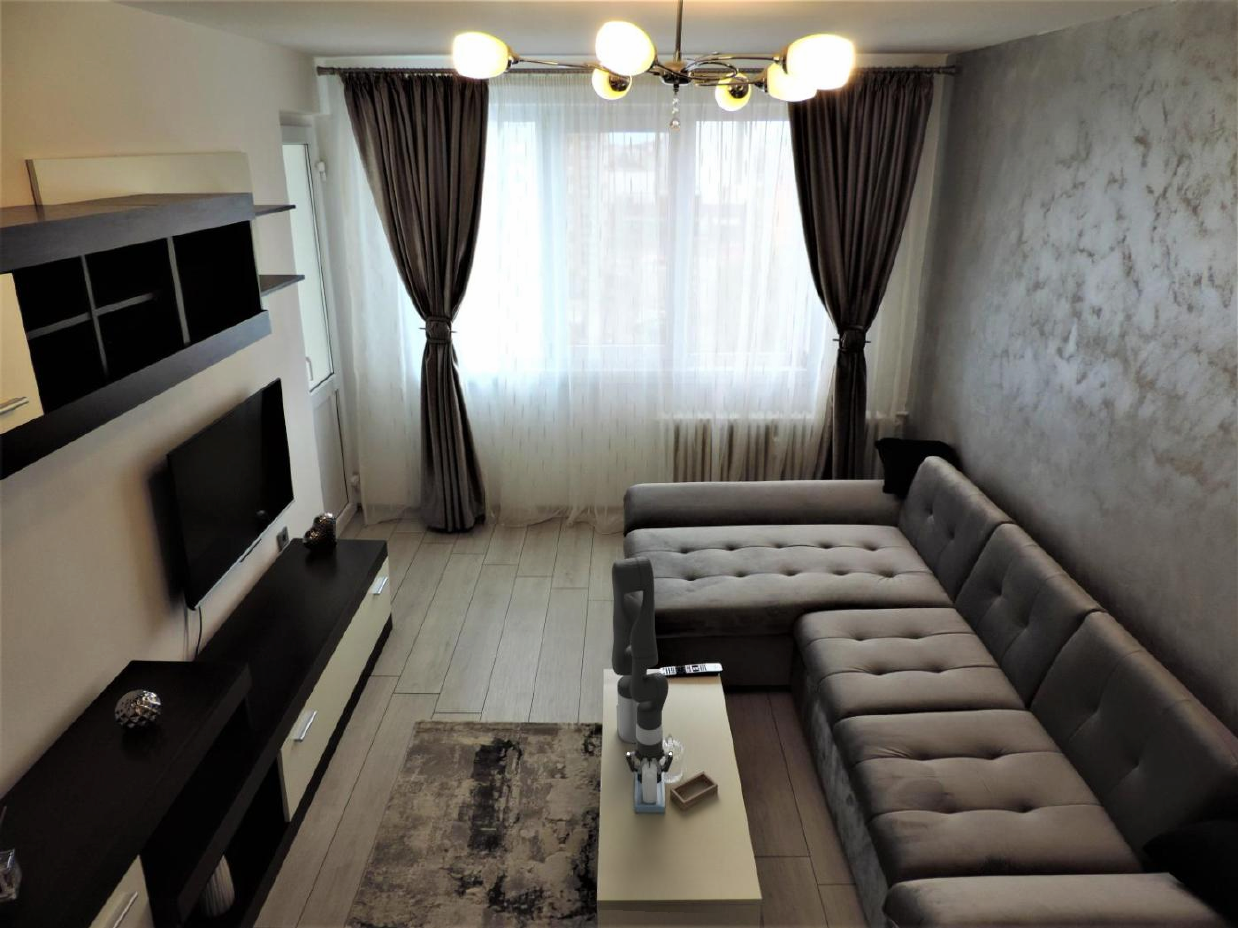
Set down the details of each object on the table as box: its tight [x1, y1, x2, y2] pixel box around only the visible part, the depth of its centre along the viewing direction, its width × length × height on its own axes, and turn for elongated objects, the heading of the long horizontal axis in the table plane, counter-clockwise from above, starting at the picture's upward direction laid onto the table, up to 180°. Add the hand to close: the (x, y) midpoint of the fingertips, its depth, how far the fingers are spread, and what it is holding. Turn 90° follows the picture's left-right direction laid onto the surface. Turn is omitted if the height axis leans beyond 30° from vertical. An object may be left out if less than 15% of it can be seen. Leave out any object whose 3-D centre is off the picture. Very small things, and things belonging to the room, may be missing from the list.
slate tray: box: [634, 772, 666, 815], centre depth 253 cm, size 14×9×2 cm, turn 179°
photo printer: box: [642, 761, 657, 804], centre depth 251 cm, size 10×4×12 cm, turn 179°
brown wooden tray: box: [669, 770, 719, 812], centre depth 253 cm, size 7×12×3 cm, turn 124°
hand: (649, 780), depth 252 cm, fingers closed on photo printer, 4 cm apart
